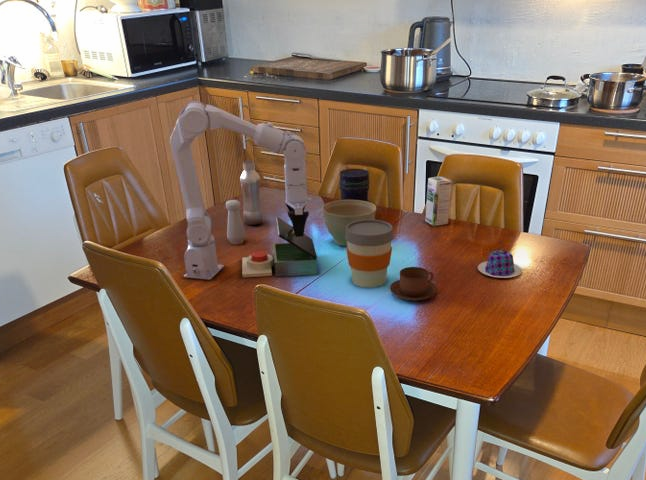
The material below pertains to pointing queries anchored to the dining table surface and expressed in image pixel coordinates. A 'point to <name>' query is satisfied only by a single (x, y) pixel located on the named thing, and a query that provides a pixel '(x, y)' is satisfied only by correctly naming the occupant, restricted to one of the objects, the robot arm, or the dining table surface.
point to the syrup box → (438, 201)
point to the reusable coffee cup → (369, 251)
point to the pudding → (500, 265)
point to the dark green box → (292, 261)
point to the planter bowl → (346, 216)
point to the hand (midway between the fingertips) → (298, 231)
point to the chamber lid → (295, 238)
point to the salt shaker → (235, 223)
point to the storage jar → (354, 184)
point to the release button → (259, 256)
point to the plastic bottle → (251, 194)
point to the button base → (256, 267)
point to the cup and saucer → (414, 284)
